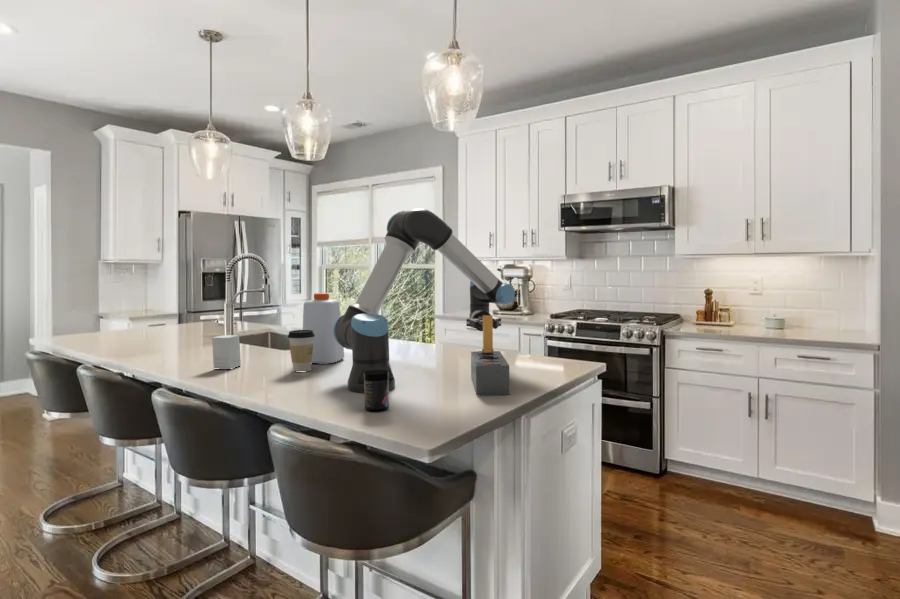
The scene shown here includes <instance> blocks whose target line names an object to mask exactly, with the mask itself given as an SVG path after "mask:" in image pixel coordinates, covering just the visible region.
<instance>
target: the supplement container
mask: <svg viewBox="0 0 900 599" xmlns="http://www.w3.org/2000/svg"><path fill="white" fill-rule="evenodd" d="M388 378H389V377H388V371H387V370H369V371H365V372H364V392H363V393H364V395H363V396H364V409H365V411H367V412H370V413H382V412H385V411H387V410H388V409H389V406H390V395H389V393H390V392H389V391H390V390H389V385H388Z"/></svg>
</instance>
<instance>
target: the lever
mask: <svg viewBox="0 0 900 599" xmlns="http://www.w3.org/2000/svg"><path fill="white" fill-rule="evenodd" d="M492 318H493V315H492V314H491V315H483V331H482V350H481V351H482V355H493V354H494V351H495V350H494V348H493V347H494V346H493V345H494V341H493V335H494V334H493V329H494V328H493V321H492Z"/></svg>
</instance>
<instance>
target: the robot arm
mask: <svg viewBox="0 0 900 599" xmlns="http://www.w3.org/2000/svg"><path fill="white" fill-rule="evenodd" d="M453 232H454V230H453V229H452V228H451V227H450V226H449V225H448V224H447V223H446V222H445V221H444V220H443V219H441V217H439V216H438V215H437V214H435V213H434V212H432V211H430V210H429V209H425V208H419V207H418V208H414V209H409V210H408V209H407V210H402V211H401V210H400V211H398V212H396V213H395V214H393V215H391V217H390V218H389V220H388V221H387V225H386V234H385V237H384V240H385V245H384V247H383V249H382V252H381V253H380V255H379V257H378V259H377V261H376V263H375V265H374V266H373V269H372V271H371V272H370V275H369V276H368V278H367V280H366V282H365V284H364V286H363V287H362V289H361V291H360V293H359V295H358V297H357V299H356V301H355V302H354V303H352V304H349V305H348V307H347V309H346V311H345V312H344V314H342V315H340V316H341V317H339V318H338V319H337V320H336V322H335V324H334V327H333V334H334V337H335V340H336V341H337V342H338V343H339V344H340V345H341V346H342V347H344V349H346V350H350V351H352V352H351V353H352V355H351V356H352V367H351V369H350V371H349V372H350V373H349V377H348V379H347V389H348V390H349V391H351V392H353V393H354V392H355V393H364V372H365V371H369V370H387V371H388V377H389V378H388V385H389V391H390V390H392V389H394V388H395V387H396V379H395V377H394V373H393V370H392V368H391V365H390V344H389V343H390V340H389V337H390V336H389V331H390V326H389V321H388V319H387V317H385V316H384V315H382V314H379V312H380V310H381V308H382V307H383V304H384V302H385V300H387V299H386V298H387V297H388V294H389V293H390V290H391V289H392V286H393V285H394V282H395V281H396V279H397V277H398V275H399V273H400V271H401V269H402V267H403V265H404V264H405V261H406V260H407V257H408V256H409V255H413V254H414V252H415V251H416V249H417V247H418V245H419V243H422V244H425V245H427V246H428V247H430V249H432V251H437V252H439V253H440V254H441V255H442V256H444V258H446V260H448V261H449V262H450V263H451V264H452V265H453V266H454V267H455V268H456V269H457V270H459V272H460V273H462V274H463V276H464V277H466V278H467V279H468V280H469V282H470V283H469V297H470V298H469V299H470V300H469V301H470V302H469V303H470V304H469V305H470V306H469V315H468V316H469V318H467V319H466V321H465V325H466V327H470V328H473V329H476V330H477V331H480V332H483V315H492V314H491V313H490V304H499V305H508V304H510V303H512V302H513V300H514V298H515V296H516V295H515V289H514V287H513V286H512V285H511V284H510V283H506V282H503V281H502V280H500V279H499V278H498V277H497V276H496V275H495V274H494V273H493V272H492V271H491V270H490V269H489V268H488V267H486V265H485V264H484V263H483V262H482V261H480V259H479V258H477V257H476V255H475V254H474V253H472V251H470V250H469V249H468V248H467V246H466V245H464V244H463V243H462V242H461V241H460V240H459V239H458V238H457V237H456V236H455V235H454V233H453ZM492 321H493V329H494V330H496V329H498V328H499V327H501V326H502V318H493V317H492Z"/></svg>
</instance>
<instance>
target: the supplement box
mask: <svg viewBox="0 0 900 599" xmlns="http://www.w3.org/2000/svg"><path fill="white" fill-rule="evenodd" d="M211 341H212V343H211V344H212V345H211V346H212V360H213V361H212V362H213V369H214V368H219V369H231V368H234V367H237V366H241V367H242V364H241V345H240V335H238V334H237V335H236V334H234V335H233V334H230V335H229V334H227V335H226V334H224V335H217V336H214V337H211Z"/></svg>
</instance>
